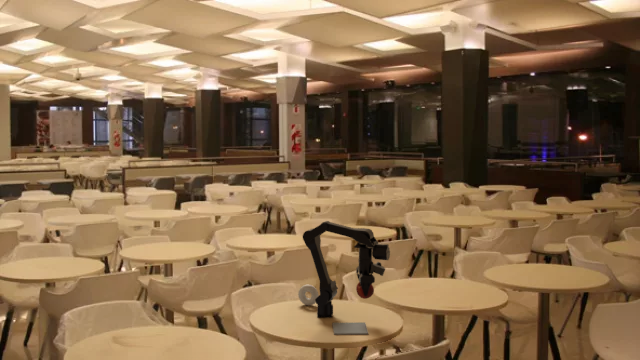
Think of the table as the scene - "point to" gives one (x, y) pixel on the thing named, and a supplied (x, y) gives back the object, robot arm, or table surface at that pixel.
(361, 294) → the apple
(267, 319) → the table surface
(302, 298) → the donut
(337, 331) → the mat
